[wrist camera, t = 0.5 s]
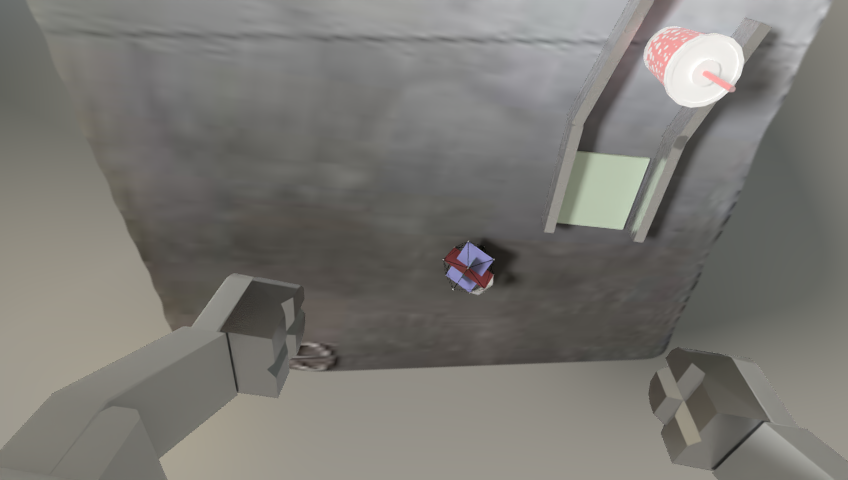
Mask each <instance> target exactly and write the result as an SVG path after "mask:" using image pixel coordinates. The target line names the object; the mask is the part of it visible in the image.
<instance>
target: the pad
mask: <svg viewBox="0 0 848 480" xmlns="http://www.w3.org/2000/svg"><path fill="white" fill-rule="evenodd" d="M649 161H650V158H648V157H637V156H627V155H617V154H606V153H596V152H586V151H577V152H576V156H575V159H574V163H573V166H572V170H571V173H570V177H569V180H568V184H567V187H566V191H565V195H564V198H563V202H562V205H561V209H560V212H559V216H558V219H557V223H564V224H574V225H583V226H593V227H603V228H612V229H622V230H623V228H624V225H625V222H626V220H627V217H628V215H629V212H630V210H631V207H632V204H633V202H634V199H635V197H636V194H637V192H638V189H639V187H640V184H641V181H642V179H643V176H644V174H645V171H646V169H647V166H648V163H649Z"/></svg>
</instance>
